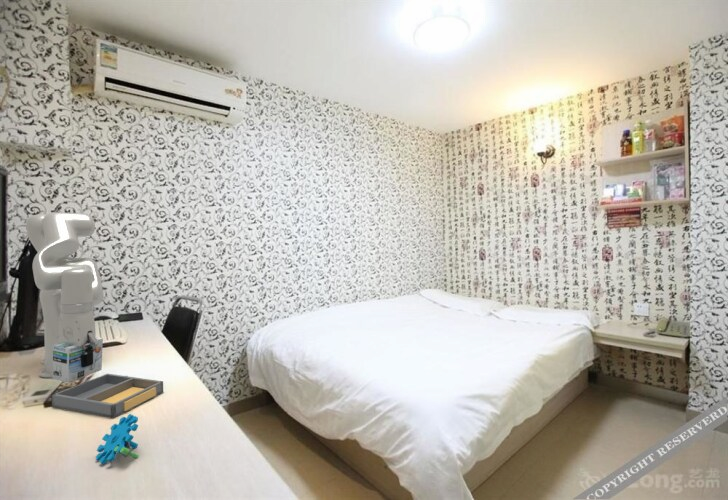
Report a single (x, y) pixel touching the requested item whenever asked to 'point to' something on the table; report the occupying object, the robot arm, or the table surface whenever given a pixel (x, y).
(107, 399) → the bay tray
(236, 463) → the table surface
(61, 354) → the light bulb box
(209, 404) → the table surface
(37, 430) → the table surface
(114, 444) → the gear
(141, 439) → the table surface
